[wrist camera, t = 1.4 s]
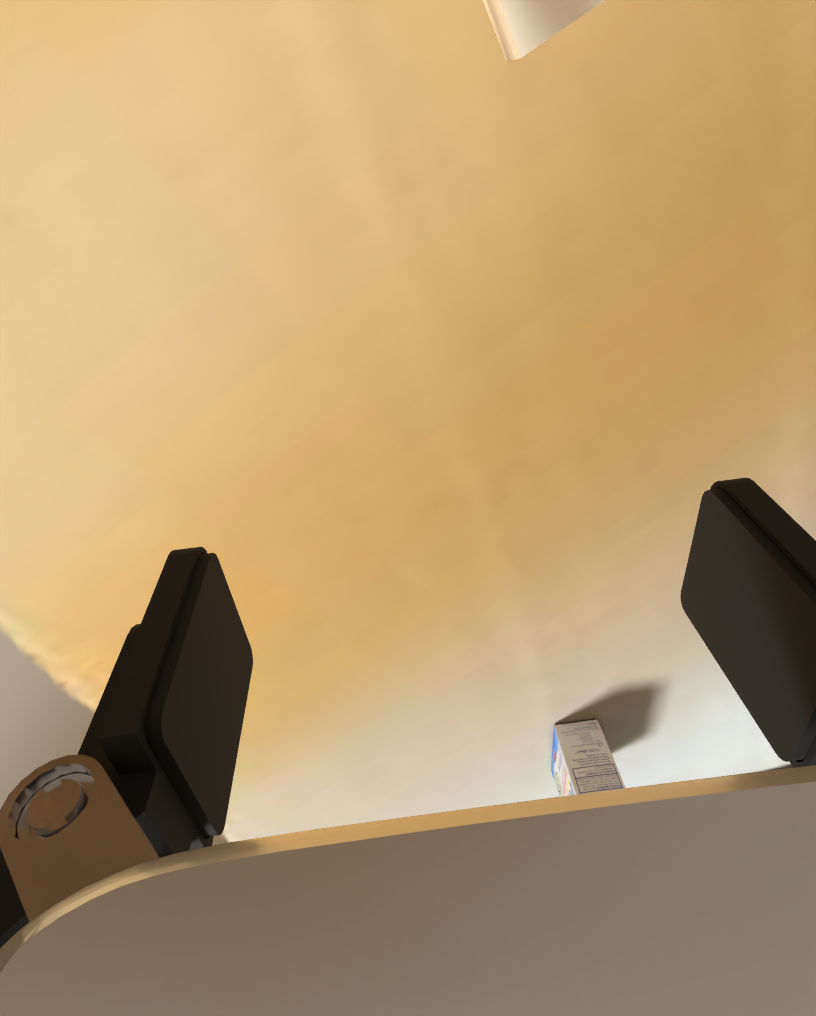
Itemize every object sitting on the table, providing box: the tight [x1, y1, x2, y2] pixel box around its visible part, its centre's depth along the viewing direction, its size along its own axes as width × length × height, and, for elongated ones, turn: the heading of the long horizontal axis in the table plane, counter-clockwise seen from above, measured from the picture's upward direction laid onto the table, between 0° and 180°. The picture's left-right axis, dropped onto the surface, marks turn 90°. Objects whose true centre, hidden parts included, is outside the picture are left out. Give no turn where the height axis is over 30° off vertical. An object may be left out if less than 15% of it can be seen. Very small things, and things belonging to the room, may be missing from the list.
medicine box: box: [551, 720, 625, 797], centre depth 56 cm, size 8×4×9 cm, turn 6°
